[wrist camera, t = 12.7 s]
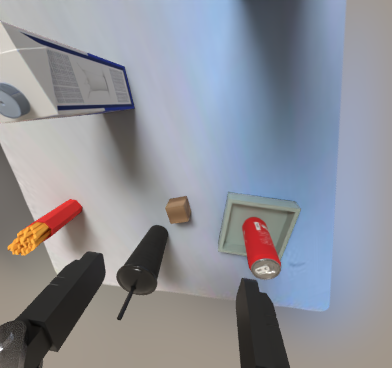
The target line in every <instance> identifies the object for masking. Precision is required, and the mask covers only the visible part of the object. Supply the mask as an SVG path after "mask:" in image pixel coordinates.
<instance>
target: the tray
mask: <svg viewBox="0 0 392 368" xmlns="http://www.w3.org/2000/svg"><path fill="white" fill-rule="evenodd" d="M300 211H301V208H300V207H299V206H298V205H297V203H296V202H295V201H288V200H281V199H274V198H267V197H260V196H253V195H245V194H238V193H231V192H228V195H227V200H226V205H225V210H224V216H223V221H222V226H221V231H220V236H219V241H218V251H219V252H225V253H231V254H237V255H243V256H247V253H246V248H245V242H244V237H243V231H242V226H243V224H244V221H245V220H246V219H247V218H250V217H258V218H260V219H261V220H263V221H264V222H265V223H266V226H267V228H268V231H269V233H270V236H271V239H272V241H273V244H274V247H275V249H276V252H277V254H278V257H279V260H281V257H282V255H283V252H284V250H285V248H286V245H287V243H288V240H289V238H290V235H291V233H292V230H293V228H294V225H295V223H296V220H297V218H298V216H299V213H300Z"/></svg>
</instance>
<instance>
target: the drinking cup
mask: <svg viewBox="0 0 392 368" xmlns="http://www.w3.org/2000/svg"><path fill="white" fill-rule="evenodd" d="M167 237H168V232H167V230H166V229H165V228H164V227H162V226H159V225H155V226H152V227H151V228H150V230H149V231H148V232H147V234H146V235H145V237H144V238H143V239H142V241H141V242H140V243H139V245H138V246H137V248H136V249H135V250H134V252H133V253H132V255H131V256H130V257H129V259H128V260H127V262H126V263H125V264H124V266H122V267H121V268H120V269H119V270H118V272H117V276H116V277H117V281H118V283H119V285H120V286H121V287H122V288H123V289H125V290H126V291H128V292H129V294H128V296H127V298H126V300H125V302H124V304H123V307H122V309H121V311H120V313H119V315H118V317H117V319H118V320H121V319H122V317H123V314H124V312H125V310H126V308H127V306H128V303H129V301H130V299H131V297H132V294H136V295H147V294H150V293H152V292H153V291H154V290H155V289H156V287H157V278H158V274H159V270H160V266H161V262H162V258H163V254H164V250H165V246H166V241H167Z"/></svg>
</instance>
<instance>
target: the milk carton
mask: <svg viewBox="0 0 392 368" xmlns="http://www.w3.org/2000/svg"><path fill="white" fill-rule="evenodd" d="M128 109H134V104H133V100H132V96H131V92H130V87H129V83H128V79H127V75H126V71H125V67H124V66H121V65H119V64H116V63H113V62H111V61H108V60H105V59H103V58H100V57H97V56H94V55H92V54H89V53H86V52H84V51H81V50H78V49H76V48H73V47H70V46H68V45H65V44H62V43H59V42H57V41H54V40H51V39H49V38H46V37H43V36H41V35H38V34H35V33H33V32H30V31H27V30H24V29H22V28H19V27H16V26H14V25H11V24H8V23H6V22H3V21H1V20H0V124H1V123H10V122H20V121H30V120H41V119H51V118H61V117H71V116H81V115H91V114H101V113H108V112H115V111H121V110H128Z"/></svg>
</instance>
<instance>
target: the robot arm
mask: <svg viewBox="0 0 392 368" xmlns="http://www.w3.org/2000/svg"><path fill="white" fill-rule="evenodd" d="M105 273H106V271H105V265H104V258H103V254H102V253H96V252H90V251H89V252H86V253H85V254H84V255H83V257H82V258H81V259H80V260H74V261H73V262H71V263H70V264H68V265H67V266H65V267H64V268H63V270H62V271H61V272H60V273H59V274H58V275H57V277H55V278H54V279H53V280H52V281H51V282H50V284H49V285H48V286H47V287H46V288H45V289H44V290H43V291H42V292H41V293H40V294H39V295H38V296H37V297H36V298H35V300H34V301H33V302H32V303H31V304H30V305H29V306H28V307H27V308H26V309H25V310H24V311H23V312H22V314H20V316H19V317H17V318H16V319H15V320H13V321H9V322H7V323H4V324H2V325H0V368H42V366H43V358H44V356H45V355H46V354H47V352H48V351H49V350H50V351H55V352H58V351H59V349H60V348H61V346H62V345H63V343H64V341H65V340H66V338H67V337H68V335H69V334H70V332H71V331H72V329H73V327H74V326H75V324H76V323H77V321H78V320H79V318H80V317H81V315H82V314H83V312H84V310H85V308H86V307H87V306H88V304H89V303H90V301H91V300H92V298H93V296H94V295H95V293H96V292H97V290H98V289H99V287H100V286H101V284H102V282H103V280H104V278H105ZM236 314H237V327H238V339H239V351H240V363H241V368H290V365H289V362H288V358H287V354H286V351H285V347H284V343H283V339H282V335H281V332H280V329H279V324H278V321H277V318H276V313H275V310H274V306H273V303H272V301H271V300H270V298H269V297H268V295H267V293H262V292H259V287H258V283H257V281H256V280H252V279H246V278H242V279H241V283H240V286H239V289H238V293H237V296H236Z"/></svg>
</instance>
